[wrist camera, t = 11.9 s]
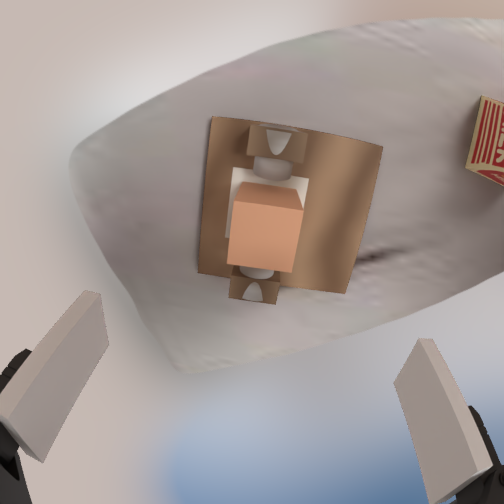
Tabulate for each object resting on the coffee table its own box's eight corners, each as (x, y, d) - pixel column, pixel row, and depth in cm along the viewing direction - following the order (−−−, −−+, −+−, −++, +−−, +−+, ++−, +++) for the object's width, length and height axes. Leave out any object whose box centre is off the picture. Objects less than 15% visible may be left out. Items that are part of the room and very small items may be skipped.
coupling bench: (378, 145, 27) (402, 152, 21) (342, 286, 34) (353, 318, 28) (215, 116, 27) (201, 115, 21) (200, 266, 33) (187, 295, 28)
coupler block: (242, 181, 28) (233, 200, 21) (296, 189, 28) (304, 210, 21) (236, 231, 30) (226, 263, 23) (287, 238, 30) (291, 272, 23)
